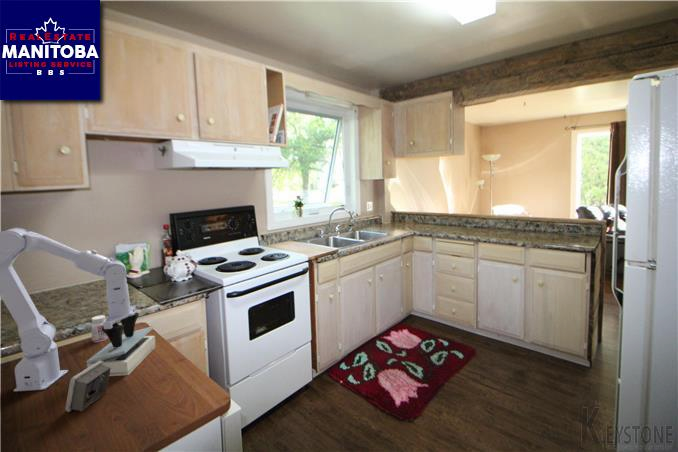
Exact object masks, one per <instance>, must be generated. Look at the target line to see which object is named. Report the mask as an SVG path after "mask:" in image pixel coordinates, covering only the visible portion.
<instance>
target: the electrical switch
mask: <svg viewBox="0 0 678 452" xmlns="http://www.w3.org/2000/svg"><path fill="white" fill-rule="evenodd" d="M103 363H104V362H103V361H100V360H99V361H98V362H96V363H95V364H93V365H91V366H90V367H88V368H85V369H83V370H82V371H81V372H79V373H77V374H75V375H74V376H72V377H71V379H70V380H69V385H68V386H69V387H68V391H67V398H66V403H65V411H66V412H67V413H70V412H71V411H73V410H74V411H79V412H83V411H84V410H85V409H88V407H89V406H91V405H92V404H94V403H95V402H97V401H98V400H99V399H100V398H102V397H103V396H105V394H106V393H107V391H108V390H107V389H108V383H109V378H110V376H109V374H110V369H111V368H110V367H107V366H105V365H103ZM103 375H104V376H103ZM90 404H91V405H90Z"/></svg>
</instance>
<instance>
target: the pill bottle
mask: <svg viewBox="0 0 678 452" xmlns="http://www.w3.org/2000/svg"><path fill="white" fill-rule="evenodd" d="M105 321H106V316H105V315H104V314H103V315H102V314H101V315H96V316H93V317H92V318H91V324H90V329H91V340H92V342H93V343H100V342H103V341H104V342H105V341H106V340H107V339H109V337H108V336H107V335H106V334H105V333H104V332H103V331H102V327H103V323H104V322H105Z"/></svg>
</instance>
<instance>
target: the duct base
mask: <svg viewBox="0 0 678 452" xmlns="http://www.w3.org/2000/svg"><path fill="white" fill-rule="evenodd" d="M156 347H157V346H156V336H155V335H145V336H144V337H143V338H142V339H141V340H140V341H138V342H137V343H136V344H135V345H134V346H133V347H132V348H131V349H129V350H128V351H127V352H126V353H125V354H121V355H118V356H114V357H110V358H107V359H103V360H100V361H103V362H104V363H103V365H105V366H107V367H110V368H111V369H110V374H109V377H116V376H117V377H118V376H128V375H130V374H131V373H132V372H133V371H134V370H135V369H136V368H137V367H138V365H140V363H142V362H143V361H144V359H145V358H146V357H147V356H149V355H150V353H151V352H152V351H154V349H155V348H156ZM96 362H98V361H96ZM96 362H93V363H89V364H87V363H86V366H87V368H88V367H90V366H91V365H93V364H95V363H96ZM87 368H86V369H87ZM103 376H104V375H103Z"/></svg>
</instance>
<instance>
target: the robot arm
mask: <svg viewBox="0 0 678 452" xmlns="http://www.w3.org/2000/svg"><path fill="white" fill-rule="evenodd" d="M24 250H25V253H28V252H29V253H30V252H40V251H41V252H45V253H48V254H50V255H52V256H56V257H59V258H63V259H65V260H69V261H71V262H73V263H74V266H75V268H77V269H80V270H82V271H85V272H87V273H89V274H93V275H94V276H95V275H96V276H97V277H103V278H104V281H105V283H106V284H105V285H106V287H105V292H106V293H105V294H106V299H107V300H106V301H107V307H108V308H107V309H108V317H106V319H105V322H104V323H103V327H102V331H103V332H104V333H105V334H106V335H107V336H108V339H109V341H110V343H112V345H113V347H120V346H121V345H122V334H125V337H132V336H133V334H134V331H135V327H136V323H137V320H138V317H139V315H140V314H139V312H136V311H137V309H136V305H135V304H134V305H131V304H130V303H131V302H130V301H131V300H130V294H129V292H130V291H129V285H128V283H127V282H128V279H127V273H128V272H127V268H126V265H125V264H124V263H123V262H121V261H120V260H117V259H115V258H113V257H110V258H109V257H106V256H104V255H101V254H99V253H98V251H97V250H95V249H92V250H89V249H85V250H82V251H80V250H78V249H75V248H72V247H70V246H68V245H65V244H64V243H61V242H59V241H57V240H54V239H52V238H50V237H48V236H45V235H43V234H40V233H38V232H34V231H32V230H31V231H28V230H27V229H25V228H22V227H12V228H8V229H7V230H2V231H0V297H1V300H2V301H3V303H4V305H5V307H6V308H7V310H8V312H9V313H10V315H11V316H12V318H13V320H14V321H15V323H16V325H17V331H18V332H17V333H18V337H19V338H20V342H21V343H20V347H21V349H20V350H21V351H22V353H23V357H22V358H21V360H20V361H19V362H18V363H17V364H16V365H15V367H14V376H15V384H16V388H14V389H13V392H26V391H27V392H28V391H43V390H46V389H47V388H48V387H50V386H51V385H52V384H54V383H56V382H57V381H58V380H59V379H60V378H62V377H63V376H64V375H66V374H67V373H68V372H69V370H68V369H63V370H62V369H61V368H60V361H59V360H60V359H59V352H58V351H59V350H58V344H57V343H56V342H55V341H54V338H55V336H56V334H57V328H56V327H55V326H54V325H53V324H52V323H49V322H48V321H47V319H46V318H45V316H43V315H41V314H40V312H39V311H38V308H37V307H36V305H35V304H34V302H33V300H32V297H31V296H30V295H29V293H28V291H27V289H26V288H25V286H24V284H23V282H22V280H21V278H20V277H19V276H18V274H17V272H16V270H15V268H14V267H13V264H14V262H15V261H16V260H17V258H18V256H19V254H20V253H22V252H23V251H24ZM119 322H120V323H121V324H118V323H119Z"/></svg>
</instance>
